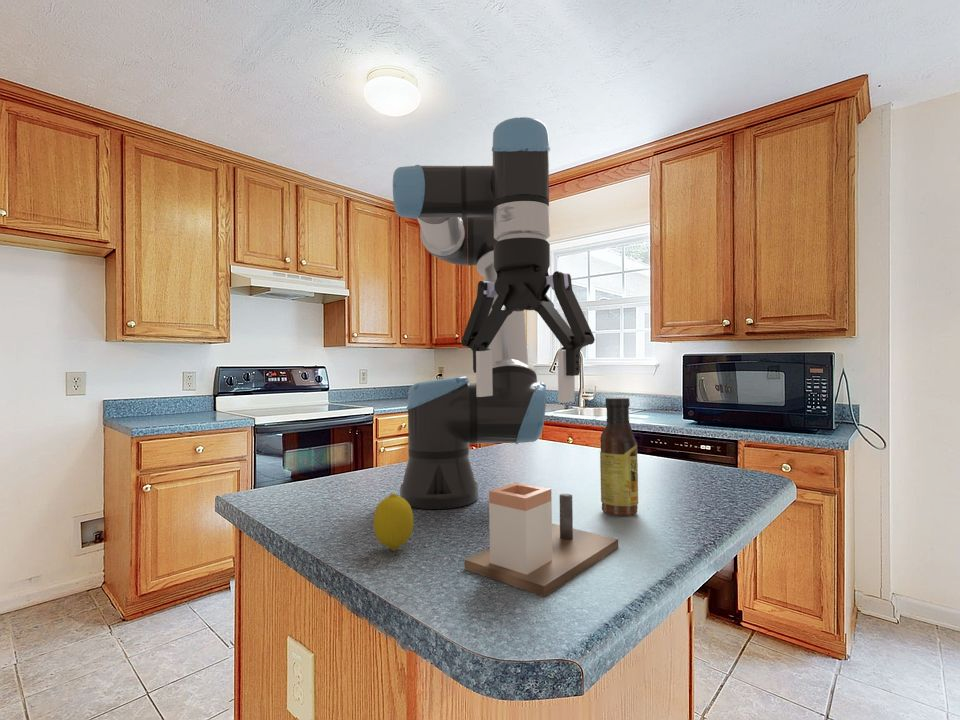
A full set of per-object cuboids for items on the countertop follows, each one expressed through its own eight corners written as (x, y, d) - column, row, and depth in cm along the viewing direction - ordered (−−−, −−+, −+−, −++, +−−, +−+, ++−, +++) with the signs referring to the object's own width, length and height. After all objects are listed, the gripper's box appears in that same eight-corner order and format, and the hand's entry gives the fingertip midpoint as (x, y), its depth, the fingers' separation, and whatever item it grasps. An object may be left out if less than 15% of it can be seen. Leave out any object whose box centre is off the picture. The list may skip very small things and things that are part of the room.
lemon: (376, 544, 73) (375, 489, 73) (414, 542, 74) (414, 488, 74) (371, 559, 68) (370, 499, 68) (412, 557, 68) (412, 498, 68)
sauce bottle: (640, 519, 83) (638, 399, 83) (601, 517, 85) (600, 399, 85) (636, 507, 90) (634, 396, 90) (600, 506, 91) (598, 396, 91)
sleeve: (489, 562, 63) (489, 490, 63) (516, 549, 67) (515, 482, 67) (526, 574, 59) (525, 498, 59) (552, 560, 64) (551, 488, 64)
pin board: (464, 569, 64) (463, 512, 64) (546, 529, 78) (545, 483, 79) (544, 596, 56) (543, 532, 56) (618, 547, 71) (617, 496, 71)
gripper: (436, 249, 73) (438, 396, 73) (591, 219, 57) (592, 407, 57) (471, 256, 79) (472, 392, 79) (621, 230, 62) (621, 402, 63)
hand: (522, 399), depth 68 cm, fingers open, 13 cm apart
